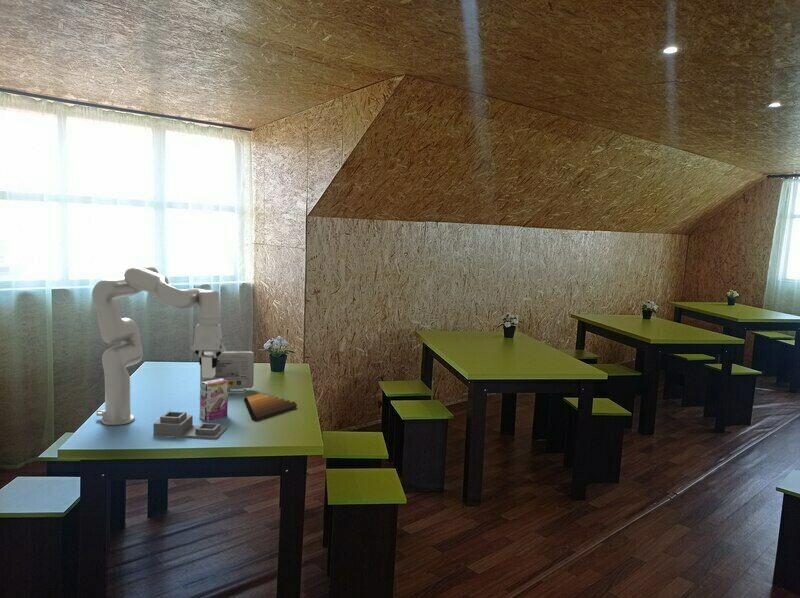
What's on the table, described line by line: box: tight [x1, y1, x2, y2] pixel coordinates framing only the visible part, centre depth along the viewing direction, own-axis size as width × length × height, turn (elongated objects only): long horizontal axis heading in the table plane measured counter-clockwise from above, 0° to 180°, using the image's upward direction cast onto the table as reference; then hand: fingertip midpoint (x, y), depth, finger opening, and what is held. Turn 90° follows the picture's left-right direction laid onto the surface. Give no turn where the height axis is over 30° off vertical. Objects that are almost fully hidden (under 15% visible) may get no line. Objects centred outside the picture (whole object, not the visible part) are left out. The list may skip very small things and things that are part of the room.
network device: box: [199, 350, 255, 394], centre depth 295 cm, size 26×9×20 cm, turn 105°
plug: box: [201, 353, 215, 378], centre depth 233 cm, size 4×4×9 cm
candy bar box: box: [199, 378, 229, 422], centre depth 254 cm, size 11×5×16 cm, turn 141°
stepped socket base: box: [152, 410, 227, 440], centre depth 236 cm, size 25×12×7 cm, turn 89°
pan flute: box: [243, 392, 298, 422], centre depth 270 cm, size 25×3×25 cm
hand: (208, 366), depth 233 cm, fingers closed on plug, 4 cm apart
